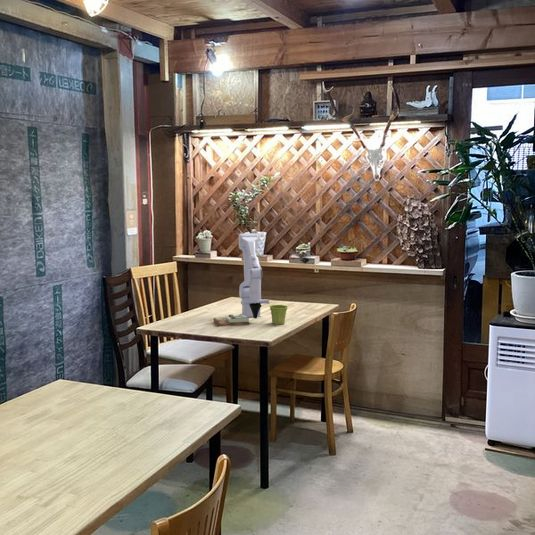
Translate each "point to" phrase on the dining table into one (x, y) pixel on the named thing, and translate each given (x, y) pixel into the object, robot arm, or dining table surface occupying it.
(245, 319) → the panel
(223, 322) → the board
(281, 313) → the plant pot
